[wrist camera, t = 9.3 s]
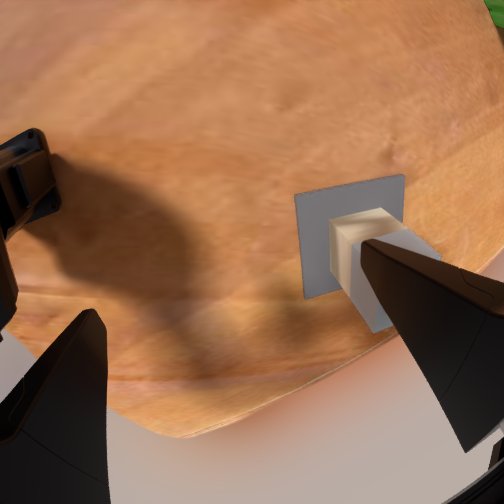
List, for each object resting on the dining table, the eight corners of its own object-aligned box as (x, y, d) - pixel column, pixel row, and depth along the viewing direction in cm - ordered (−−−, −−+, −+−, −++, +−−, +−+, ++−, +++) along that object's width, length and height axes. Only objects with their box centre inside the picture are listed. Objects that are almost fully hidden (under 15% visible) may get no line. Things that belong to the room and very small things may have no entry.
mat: (304, 296, 27) (305, 299, 27) (294, 194, 22) (295, 196, 22) (395, 268, 28) (397, 271, 28) (402, 174, 23) (404, 175, 22)
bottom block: (330, 270, 26) (349, 298, 22) (328, 219, 23) (351, 243, 20) (378, 256, 26) (401, 281, 23) (381, 207, 24) (408, 228, 20)
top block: (349, 298, 22) (373, 333, 19) (351, 243, 20) (381, 276, 16) (401, 281, 23) (427, 311, 19) (408, 228, 20) (441, 255, 17)
